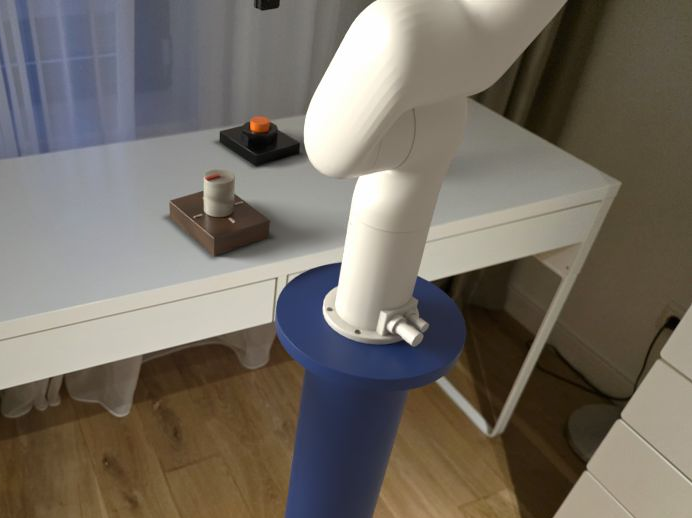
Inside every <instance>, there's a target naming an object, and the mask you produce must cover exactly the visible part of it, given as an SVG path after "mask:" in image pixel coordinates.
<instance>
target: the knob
mask: <svg viewBox="0 0 692 518" xmlns="http://www.w3.org/2000/svg"><path fill="white" fill-rule="evenodd" d="M235 184H236V177H235V174H234V173H233V172H231V171H229V170H226V169H212V170H208V171H206V172H205V173H204V174H203V191H204V212H205V213H206V214H207V215H210V216H213V217H226V216H229V215H231V214H232V213H233V211H234V194H235V188H236V187H235Z"/></svg>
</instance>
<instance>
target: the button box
mask: <svg viewBox="0 0 692 518" xmlns="http://www.w3.org/2000/svg"><path fill="white" fill-rule="evenodd" d="M250 122H251V120H250V121H247V122H245V123H244V124H242V125H239V126H235V127H230V128H227V129H223V130H220V131H219V140H218V141H219V142H218V143H220V144H221V145H222V146H225V147H226V148H227V149H229V150H231V151H232V152H234V153H235V154H236V155H238V156H239V157H241V158H243V159H244V160H245V161H246V162H248V163H250V164H251V165H253V166H254V167H258V166H262V165H265V164H269V163H273V162H276V161H279V160H283V159H287V158H290V157H293V156H297V155H300V151H301V142H300V141H298V140H296V139H295V138H293V137H291V136H290V135H289V134H286V133H284V132H283V131H282V130H280V129H279V128H278V125H277V124H275V123H273V122H272V121H270V130H269V131H267V132H255V131H252V130H250Z"/></svg>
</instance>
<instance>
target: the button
mask: <svg viewBox="0 0 692 518" xmlns="http://www.w3.org/2000/svg"><path fill="white" fill-rule="evenodd" d="M250 121H251V122H250ZM250 121H249V122H250V130H252V131H255V132H267V131H269V130H270V122H271V120H270V118H268V117H266V116H265V117H264V116H253V117H252V118H250Z"/></svg>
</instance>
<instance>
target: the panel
mask: <svg viewBox="0 0 692 518" xmlns="http://www.w3.org/2000/svg"><path fill="white" fill-rule="evenodd" d="M168 202H169V203H168V204H169V205H168V206H169V207H168V208H169V218H170V219H171V220H172V221H173V222H174V223H176V225H178V226H179V227H180V228H181V229H182V230H183V231H185V233H187V234H188V235H189V236H190V237H191V238H192V239H194V240H195V241H196V242H197V243H198V244H199V245H201V246H202V247H203V248H204V249H205V250H206V251H207V252H209V253H210V254H211V255H212V256H213V257H216V256H218V255H222V254H224V253H228V252H231V251H233V250H236V249H239V248H242V247H245V246H247V245H250V244H253V243H256V242H259V241H263V240H265V239H268V238H269V237H270V230H271V229H270V228H271V219H270V218H268V217H267V216H266V215H265V214H263V213H262V212H260V211H259V210H257V209H256V208H255V207H254V206H252V205H251V204H250V203H248V202H247V201H245V199H243V198H241V197H240V196H239V195H238V194H236V193H234V211H233V213H232V214H231V215H229V216H226V217H213V216H210V215H207V214H206V213H205V212H204V190H201V191H198V192H194V193H191V194H187V195H184V196H180V197H177V198H173V199H171V200H169V201H168Z"/></svg>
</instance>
